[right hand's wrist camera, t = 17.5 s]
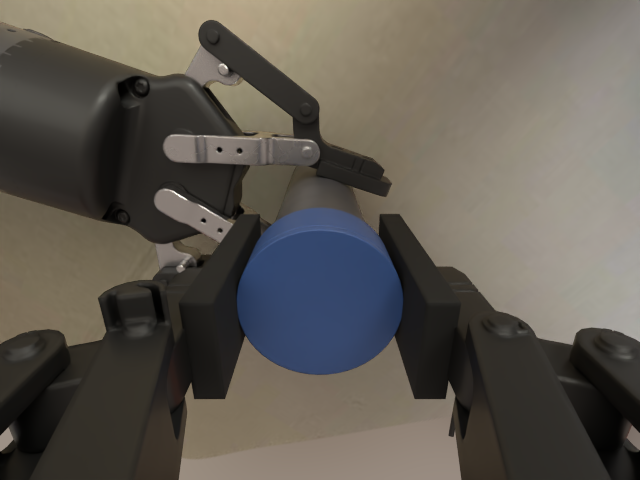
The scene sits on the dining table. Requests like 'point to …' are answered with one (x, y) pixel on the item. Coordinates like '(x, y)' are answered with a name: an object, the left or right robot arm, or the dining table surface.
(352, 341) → the lid
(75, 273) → the dining table surface
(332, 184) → the grey cylinder
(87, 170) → the left robot arm
